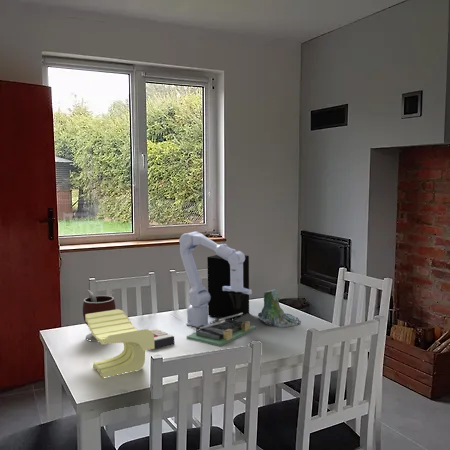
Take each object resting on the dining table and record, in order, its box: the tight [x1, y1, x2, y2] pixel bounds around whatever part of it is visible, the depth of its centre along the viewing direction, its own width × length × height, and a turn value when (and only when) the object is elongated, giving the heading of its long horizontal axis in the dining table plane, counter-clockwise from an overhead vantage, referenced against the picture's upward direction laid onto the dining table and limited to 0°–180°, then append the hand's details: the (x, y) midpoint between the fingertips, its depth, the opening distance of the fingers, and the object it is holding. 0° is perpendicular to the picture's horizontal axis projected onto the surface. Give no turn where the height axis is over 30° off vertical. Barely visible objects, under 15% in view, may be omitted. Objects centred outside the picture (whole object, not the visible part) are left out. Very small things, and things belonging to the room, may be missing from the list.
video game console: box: [206, 254, 250, 320], centre depth 245 cm, size 15×15×30 cm
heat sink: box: [195, 317, 250, 341], centre depth 217 cm, size 16×22×4 cm
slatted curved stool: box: [85, 308, 156, 379], centre depth 179 cm, size 30×16×18 cm, turn 30°
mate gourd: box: [82, 289, 117, 342], centre depth 214 cm, size 16×14×20 cm
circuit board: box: [186, 325, 256, 347], centre depth 217 cm, size 18×28×1 cm, turn 145°
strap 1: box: [199, 320, 225, 330], centre depth 211 cm, size 12×3×1 cm, turn 55°
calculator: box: [149, 328, 175, 351], centre depth 207 cm, size 11×4×15 cm
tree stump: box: [257, 288, 301, 328], centre depth 234 cm, size 18×20×18 cm
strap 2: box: [218, 313, 243, 321], centre depth 223 cm, size 12×3×1 cm, turn 55°
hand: (237, 308), depth 220 cm, fingers closed
